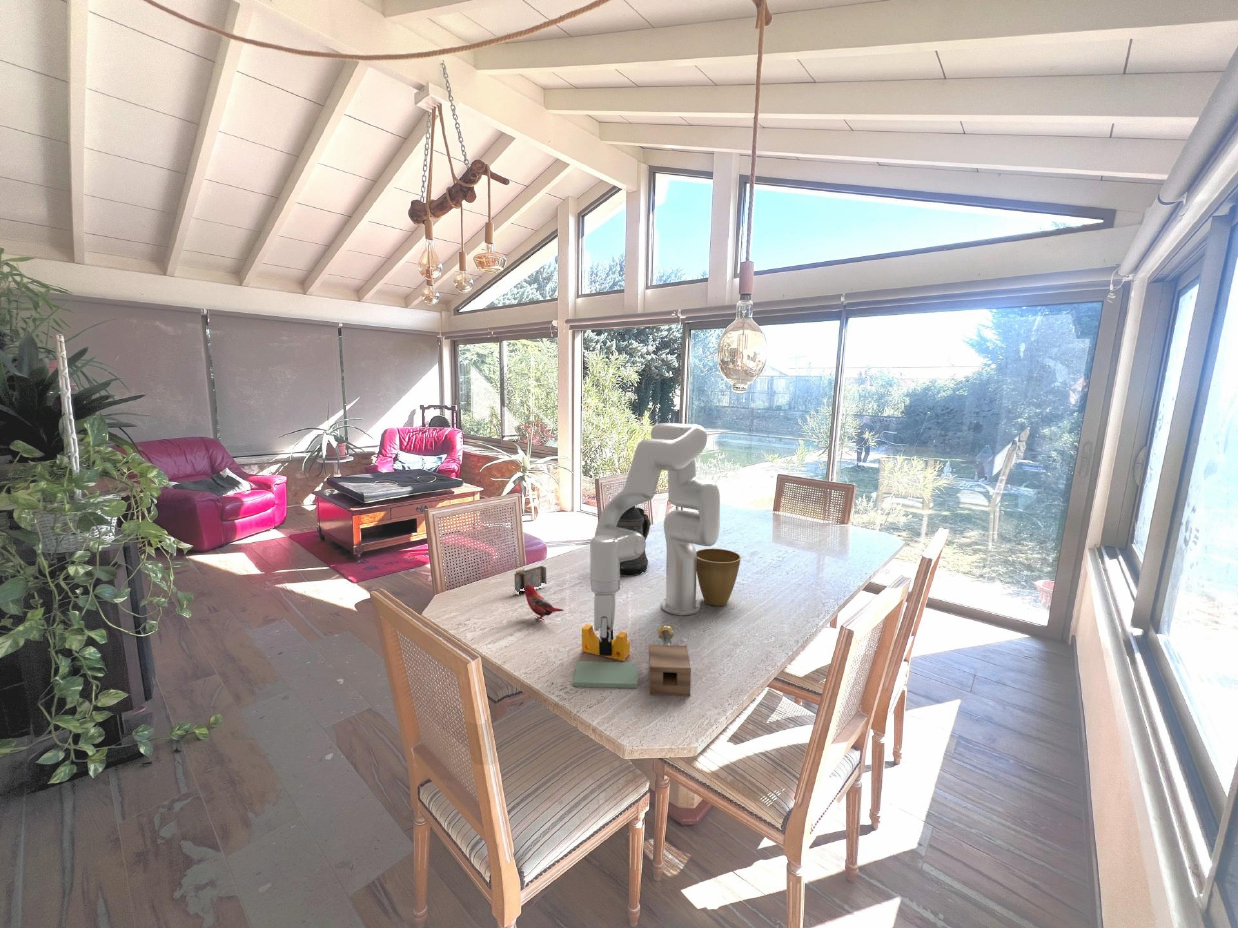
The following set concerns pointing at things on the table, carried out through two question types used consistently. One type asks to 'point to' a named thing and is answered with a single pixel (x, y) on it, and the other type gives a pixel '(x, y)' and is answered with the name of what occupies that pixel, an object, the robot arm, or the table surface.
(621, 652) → the pipe clamp
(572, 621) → the table surface
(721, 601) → the plant pot
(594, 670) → the plate
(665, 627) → the shaft
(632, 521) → the beer stein
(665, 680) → the shaft housing
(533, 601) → the decorative bird figurine
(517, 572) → the grey upright flat frame
